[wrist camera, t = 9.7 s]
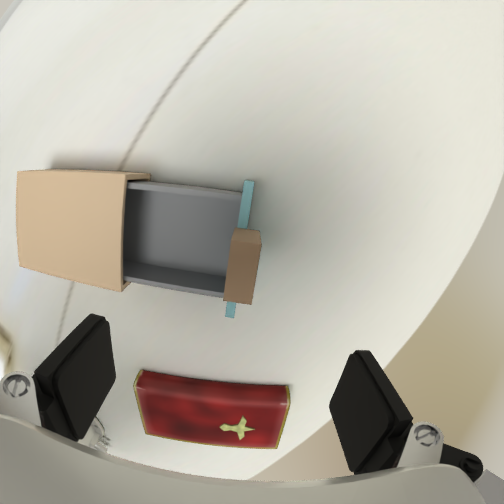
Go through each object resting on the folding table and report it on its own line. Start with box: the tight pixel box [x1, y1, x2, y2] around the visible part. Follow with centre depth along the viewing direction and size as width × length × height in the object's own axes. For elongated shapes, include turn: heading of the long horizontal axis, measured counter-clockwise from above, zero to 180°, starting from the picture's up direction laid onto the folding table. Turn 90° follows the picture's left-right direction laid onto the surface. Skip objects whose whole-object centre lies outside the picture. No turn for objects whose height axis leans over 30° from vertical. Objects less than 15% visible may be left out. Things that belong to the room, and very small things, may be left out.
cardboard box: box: [16, 169, 151, 292], centre depth 25 cm, size 15×11×6 cm
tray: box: [123, 180, 262, 318], centre depth 24 cm, size 16×12×11 cm
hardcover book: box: [133, 370, 290, 449], centre depth 35 cm, size 12×21×4 cm, turn 85°
